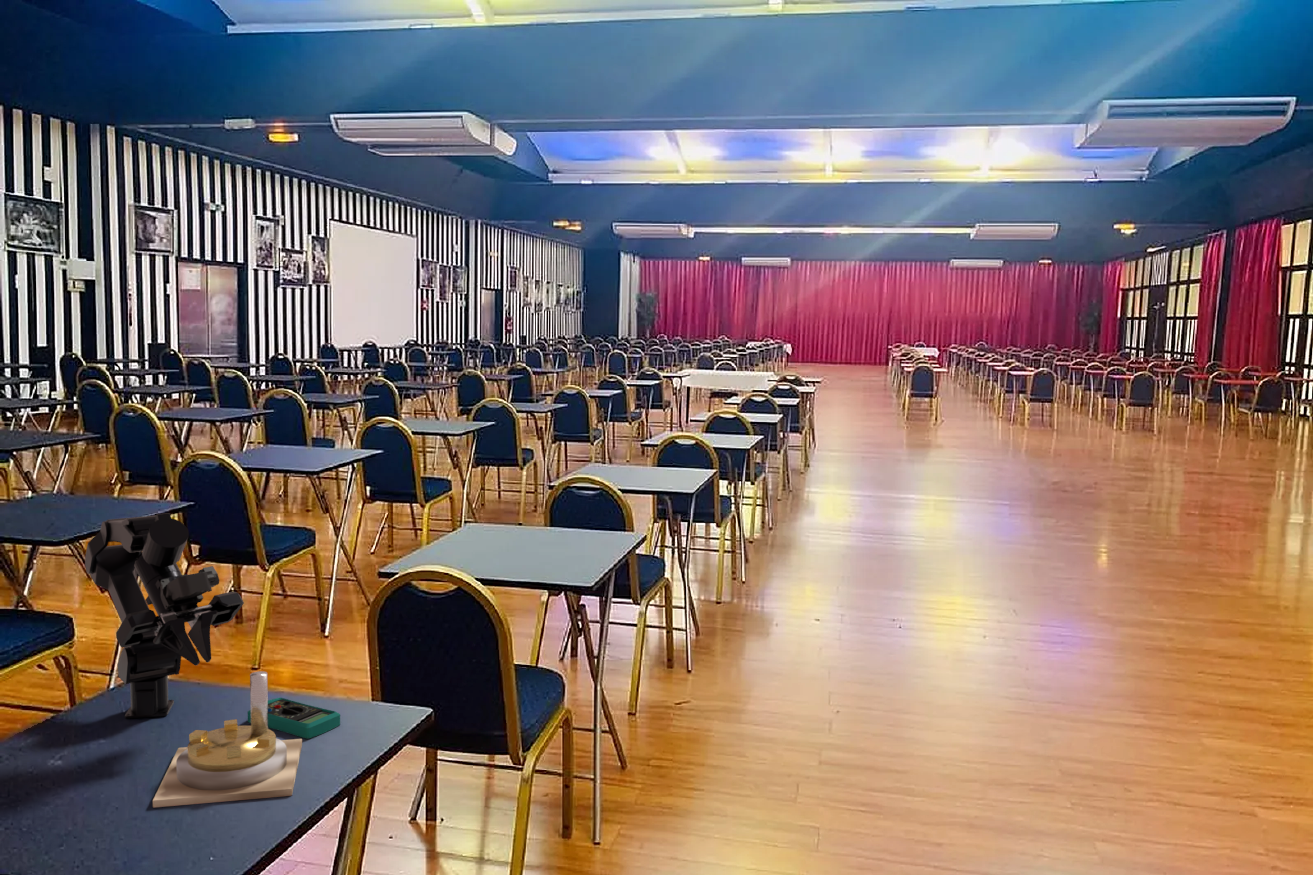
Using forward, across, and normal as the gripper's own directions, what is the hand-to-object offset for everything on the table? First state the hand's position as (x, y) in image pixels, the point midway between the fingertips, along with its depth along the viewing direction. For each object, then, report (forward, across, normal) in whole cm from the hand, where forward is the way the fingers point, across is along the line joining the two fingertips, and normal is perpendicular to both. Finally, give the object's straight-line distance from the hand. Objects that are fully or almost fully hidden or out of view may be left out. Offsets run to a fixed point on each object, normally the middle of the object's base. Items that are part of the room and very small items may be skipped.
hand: (203, 662), depth 160 cm
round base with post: (+17, -4, -3) cm, 17 cm away
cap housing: (+19, -4, 0) cm, 19 cm away
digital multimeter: (+12, +13, +7) cm, 20 cm away
